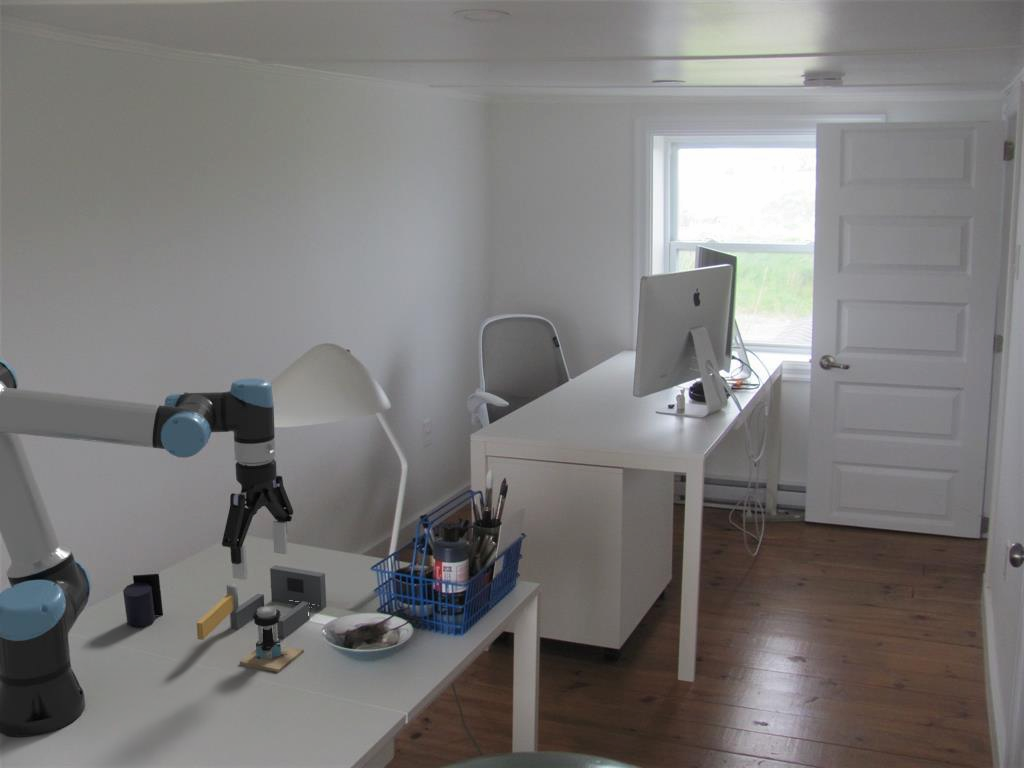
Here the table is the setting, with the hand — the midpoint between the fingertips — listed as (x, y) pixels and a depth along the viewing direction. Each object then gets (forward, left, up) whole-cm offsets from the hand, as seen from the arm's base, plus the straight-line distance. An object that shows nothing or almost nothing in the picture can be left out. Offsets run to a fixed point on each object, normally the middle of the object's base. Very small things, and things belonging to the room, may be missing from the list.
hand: (261, 565), depth 197 cm
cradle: (+18, +9, -21) cm, 29 cm away
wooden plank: (+4, +14, -16) cm, 22 cm away
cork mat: (+2, 0, -21) cm, 21 cm away
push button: (+2, 0, -20) cm, 20 cm away
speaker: (+6, +35, -21) cm, 41 cm away
